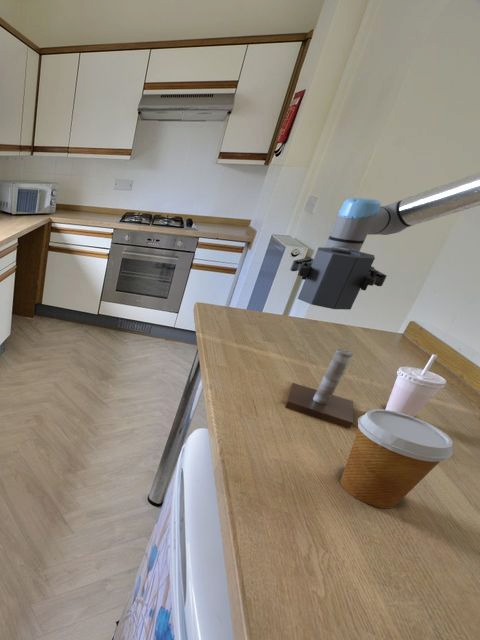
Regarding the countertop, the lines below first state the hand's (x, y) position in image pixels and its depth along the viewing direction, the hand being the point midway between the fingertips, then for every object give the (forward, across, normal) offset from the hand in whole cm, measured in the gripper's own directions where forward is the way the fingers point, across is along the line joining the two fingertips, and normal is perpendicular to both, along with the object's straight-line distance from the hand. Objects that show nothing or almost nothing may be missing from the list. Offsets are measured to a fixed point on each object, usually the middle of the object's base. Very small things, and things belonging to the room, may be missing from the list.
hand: (334, 278), depth 92 cm
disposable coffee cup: (+48, -12, -21) cm, 54 cm away
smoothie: (+17, -17, -21) cm, 32 cm away
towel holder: (+24, -5, -21) cm, 32 cm away
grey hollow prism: (-4, 0, -7) cm, 8 cm away
